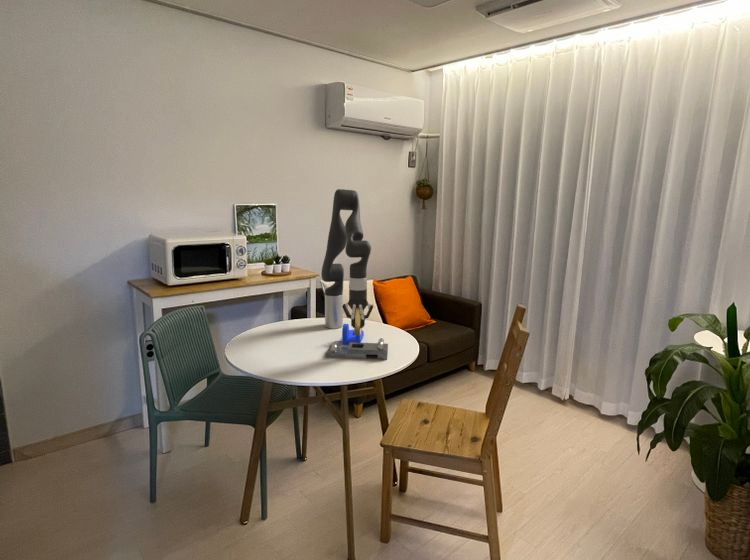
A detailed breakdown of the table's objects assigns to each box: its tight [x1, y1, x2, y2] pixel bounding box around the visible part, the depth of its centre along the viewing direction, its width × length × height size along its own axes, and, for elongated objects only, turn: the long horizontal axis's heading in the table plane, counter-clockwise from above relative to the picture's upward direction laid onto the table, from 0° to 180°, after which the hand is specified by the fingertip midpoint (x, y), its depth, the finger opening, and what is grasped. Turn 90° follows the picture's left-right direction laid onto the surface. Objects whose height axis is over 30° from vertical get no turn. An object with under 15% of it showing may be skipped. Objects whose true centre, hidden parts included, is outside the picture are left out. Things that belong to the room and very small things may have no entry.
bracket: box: [341, 323, 364, 346], centre depth 212 cm, size 18×8×9 cm, turn 175°
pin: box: [353, 308, 362, 335], centre depth 188 cm, size 3×3×12 cm
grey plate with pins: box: [325, 338, 389, 360], centre depth 191 cm, size 9×26×6 cm, turn 86°
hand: (357, 327), depth 189 cm, fingers closed on pin, 3 cm apart
